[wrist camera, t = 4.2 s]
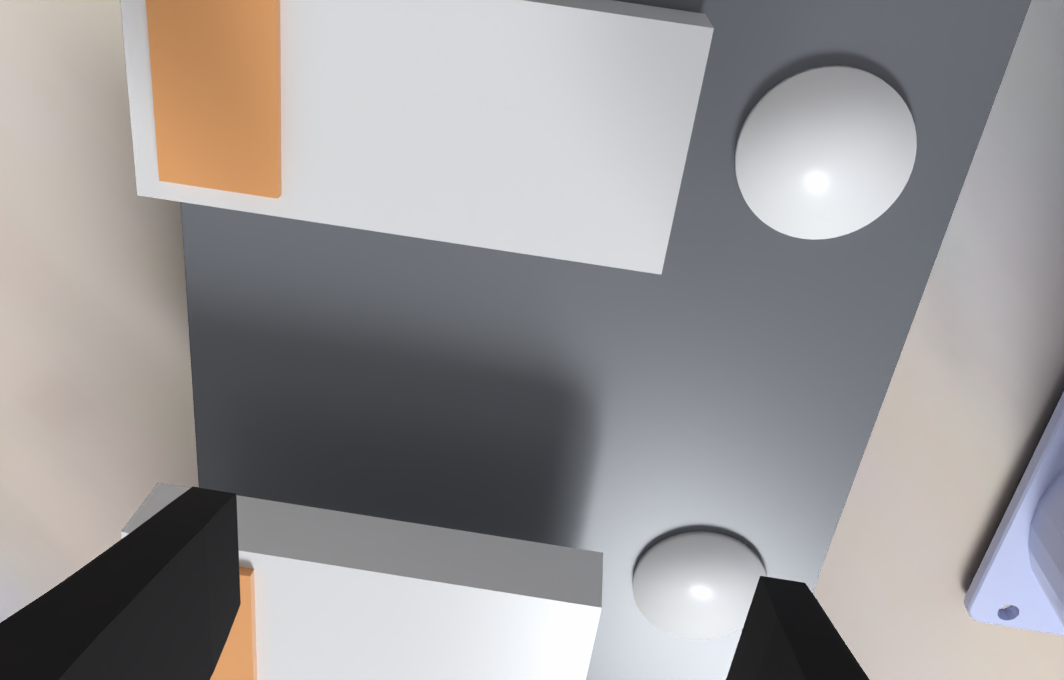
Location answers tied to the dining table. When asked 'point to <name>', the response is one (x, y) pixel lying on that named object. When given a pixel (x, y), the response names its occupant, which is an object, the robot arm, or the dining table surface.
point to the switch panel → (625, 333)
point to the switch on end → (399, 599)
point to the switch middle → (424, 117)
